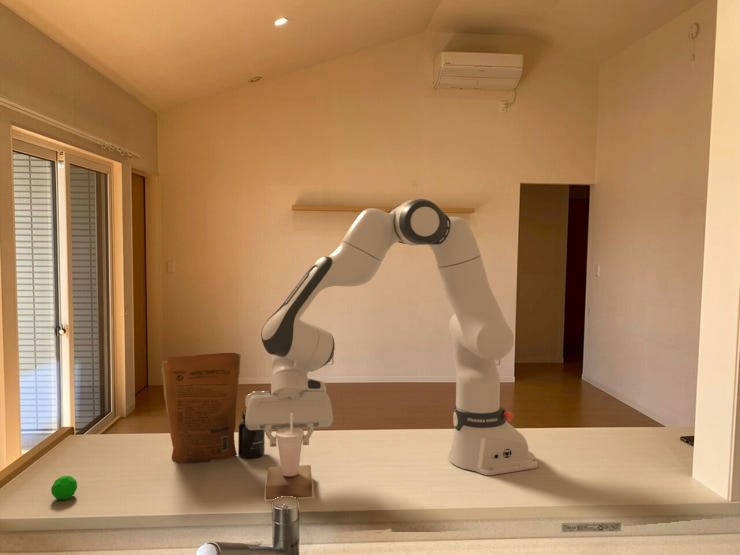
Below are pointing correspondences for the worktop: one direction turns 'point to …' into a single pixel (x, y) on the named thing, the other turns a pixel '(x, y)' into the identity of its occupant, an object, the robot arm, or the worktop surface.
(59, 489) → the polyhedron
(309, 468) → the base block
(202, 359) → the pancake mix bag
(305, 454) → the worktop surface
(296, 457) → the smoothie
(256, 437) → the supplement bottle
